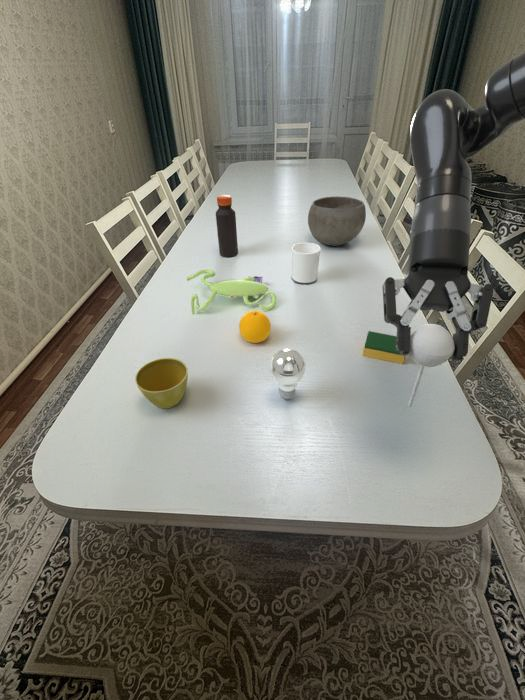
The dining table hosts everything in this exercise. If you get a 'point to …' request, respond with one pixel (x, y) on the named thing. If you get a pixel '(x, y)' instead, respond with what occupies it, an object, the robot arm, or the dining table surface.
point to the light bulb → (287, 371)
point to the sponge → (382, 347)
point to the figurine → (233, 289)
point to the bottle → (226, 227)
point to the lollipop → (429, 348)
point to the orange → (255, 326)
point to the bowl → (336, 219)
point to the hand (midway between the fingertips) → (430, 357)
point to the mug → (305, 262)
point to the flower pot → (163, 381)
